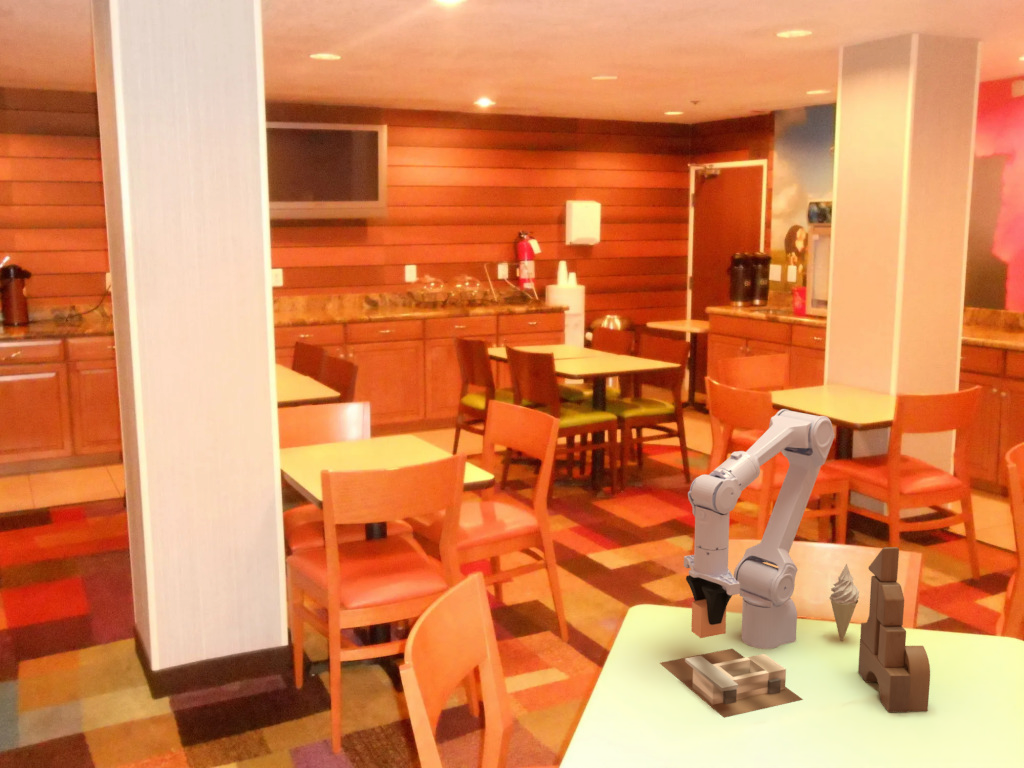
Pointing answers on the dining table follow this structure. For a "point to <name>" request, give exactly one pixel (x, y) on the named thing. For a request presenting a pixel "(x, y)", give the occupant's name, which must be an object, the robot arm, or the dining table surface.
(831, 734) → the dining table surface
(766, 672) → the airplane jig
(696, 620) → the orange upright block
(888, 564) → the wooden toy
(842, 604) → the ice cream cone
